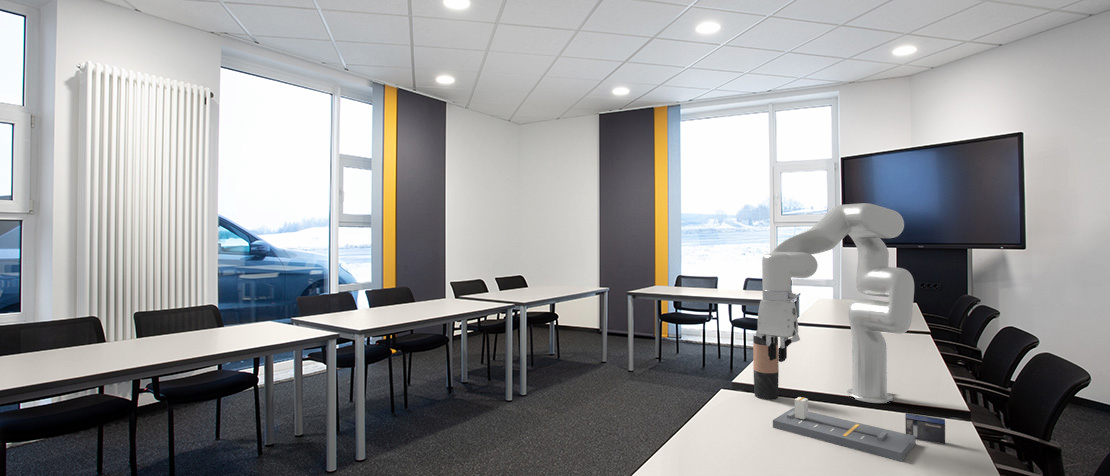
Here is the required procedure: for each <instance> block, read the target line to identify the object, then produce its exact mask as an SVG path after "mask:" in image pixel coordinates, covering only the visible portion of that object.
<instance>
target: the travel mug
mask: <svg viewBox="0 0 1110 476" xmlns="http://www.w3.org/2000/svg"><path fill="white" fill-rule="evenodd" d="M752 336H753V343H752V344H753V347H752V348H753V355H752V357H753V361H752V362H753V363H752V364H753V368H752V369H753V386H754V387H753V389H754V392H753V393H754V397H755V398H757V399H761V400H766V401H768V400H769V401H774V400H777V399H778V398H779V372H780V371H779V360H778V349H779V337H778V336H774V344H775V345H776V359H774V360H769V356H768V346H767V345H766V343H765V341H764V340H763V339H762V338H760V337H758V336H756V335H754V334H753V335H752Z"/></svg>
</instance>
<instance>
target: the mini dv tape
mask: <svg viewBox="0 0 1110 476" xmlns="http://www.w3.org/2000/svg"><path fill="white" fill-rule="evenodd" d="M904 420H905V434H909V435H913V436H916V440H918V441H919V440H920V441H924V442H930V443H936V444H940V445H946V419H945V418H941V417H934V416H929V415H923V414H917V413H909V412H905V419H904Z"/></svg>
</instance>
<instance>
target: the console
mask: <svg viewBox="0 0 1110 476" xmlns="http://www.w3.org/2000/svg"><path fill="white" fill-rule="evenodd" d="M772 428H774V429H777V430H782V431H786V432H788V433H793V434H796V435H801V436H805V437H807V438H811V439H816V440H819V441H822V442H827V443H830V444H835V445H839V446H841V447H845V448H849V449H853V450H856V451H857V450H858V451H860V452H865V453H868V454H871V455H872V454H873V455H876V456H880V457H883V458H886V459H887V458H888V459H890V460H894V461H899V462H902V461H903V460H904V459H905V458H906V456H908V454H909V453H910V452H911V451H912V449H913V448H914V447H915V446H916V444H917V441H916V440H917V439H916V436H913V435H909V434H906V433H904V432H900V431H894V430H890V429H886V428H882V427H877V426H875V425H874V426H873V425H869V424H864V423H860V422H856V421H851V420H847V419H842V418H839V417H835V416H829V415H825V414H822V413H816V412H813V411H809V410H808V417H807V418H806V419H800V418H795V407H793V408H790V409H788V411H786V412H784V413H782V414H781V415H779V416H777V417H776V418H773V419H772Z"/></svg>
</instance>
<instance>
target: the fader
mask: <svg viewBox="0 0 1110 476" xmlns="http://www.w3.org/2000/svg"><path fill="white" fill-rule="evenodd" d="M794 408H795V418H800V419H806V418H807V417H808V411H809V399H808V398H806V397H801V396H798V397H797V398H795V399H794Z"/></svg>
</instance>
